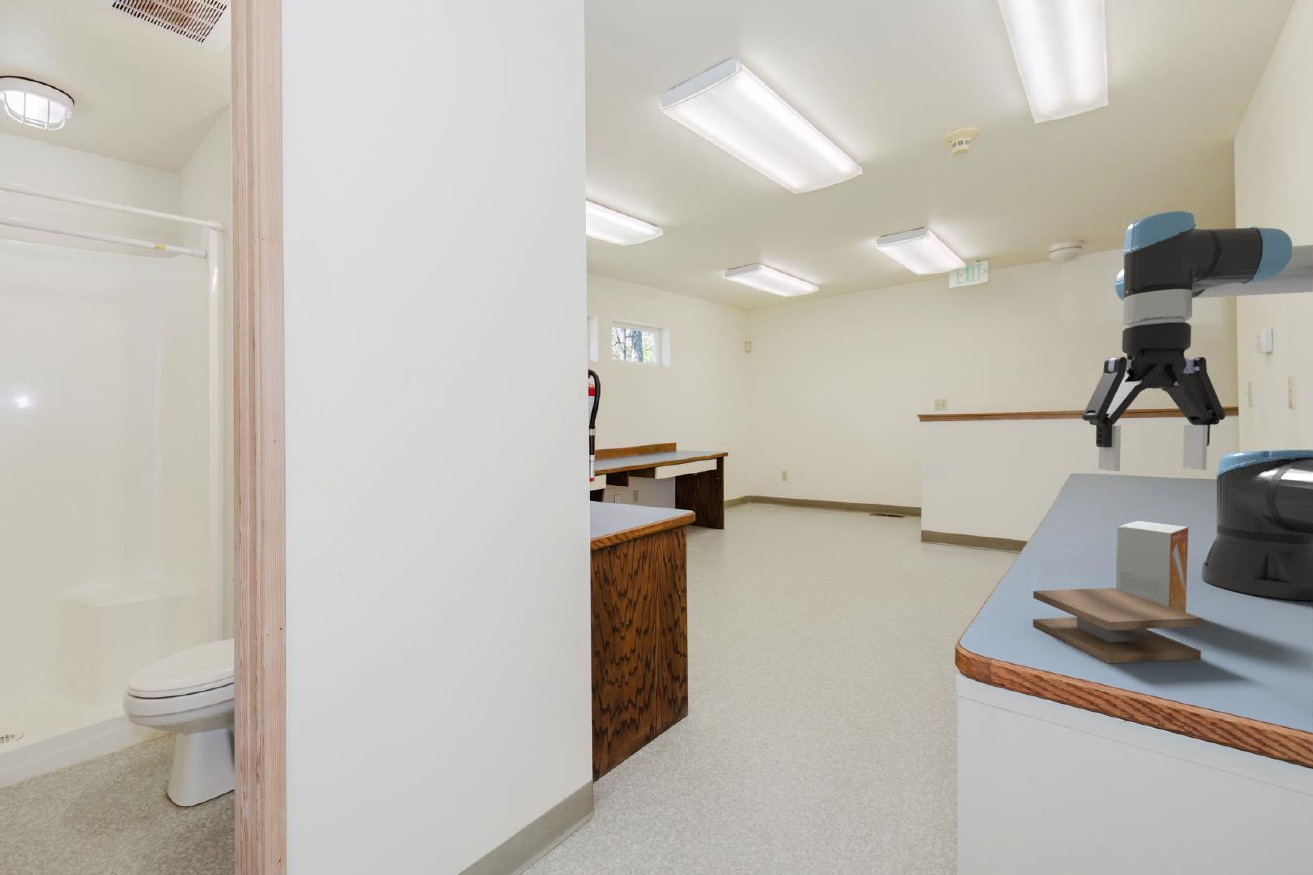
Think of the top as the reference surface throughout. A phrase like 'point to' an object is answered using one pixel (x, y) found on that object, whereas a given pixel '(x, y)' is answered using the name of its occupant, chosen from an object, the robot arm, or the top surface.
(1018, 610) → the top surface
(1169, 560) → the small box
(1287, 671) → the top surface
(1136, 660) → the stand
